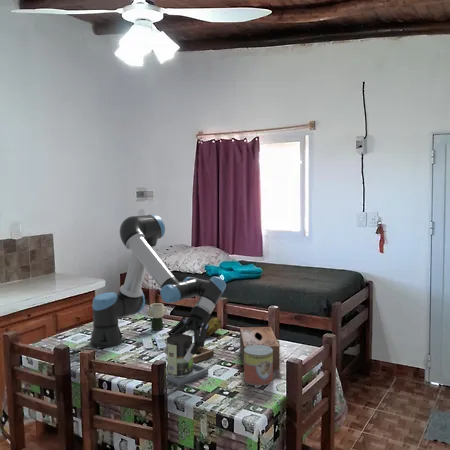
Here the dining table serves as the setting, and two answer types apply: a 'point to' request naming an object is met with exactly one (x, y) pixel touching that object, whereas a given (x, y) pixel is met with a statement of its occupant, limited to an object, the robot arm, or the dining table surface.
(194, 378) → the tray
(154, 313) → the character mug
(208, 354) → the holder frame
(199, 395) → the dining table surface
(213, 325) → the potato
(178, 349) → the coffee can
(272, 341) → the tissue box cover
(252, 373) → the canned food
